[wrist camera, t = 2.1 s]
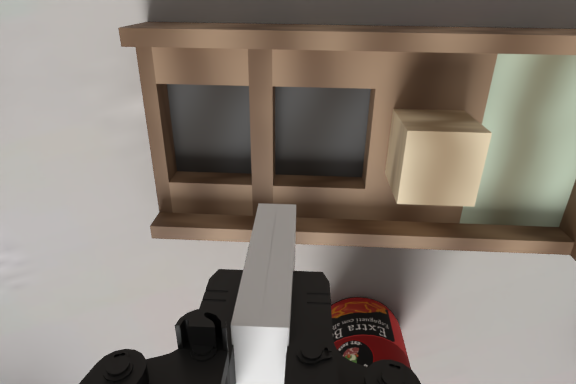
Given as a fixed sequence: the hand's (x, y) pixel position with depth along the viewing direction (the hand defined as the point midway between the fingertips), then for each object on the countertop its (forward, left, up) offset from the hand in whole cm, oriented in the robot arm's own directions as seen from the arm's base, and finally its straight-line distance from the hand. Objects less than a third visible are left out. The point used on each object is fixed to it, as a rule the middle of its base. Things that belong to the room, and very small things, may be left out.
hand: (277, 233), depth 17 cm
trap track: (-5, 0, -15) cm, 16 cm away
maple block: (-9, 0, -12) cm, 15 cm away
